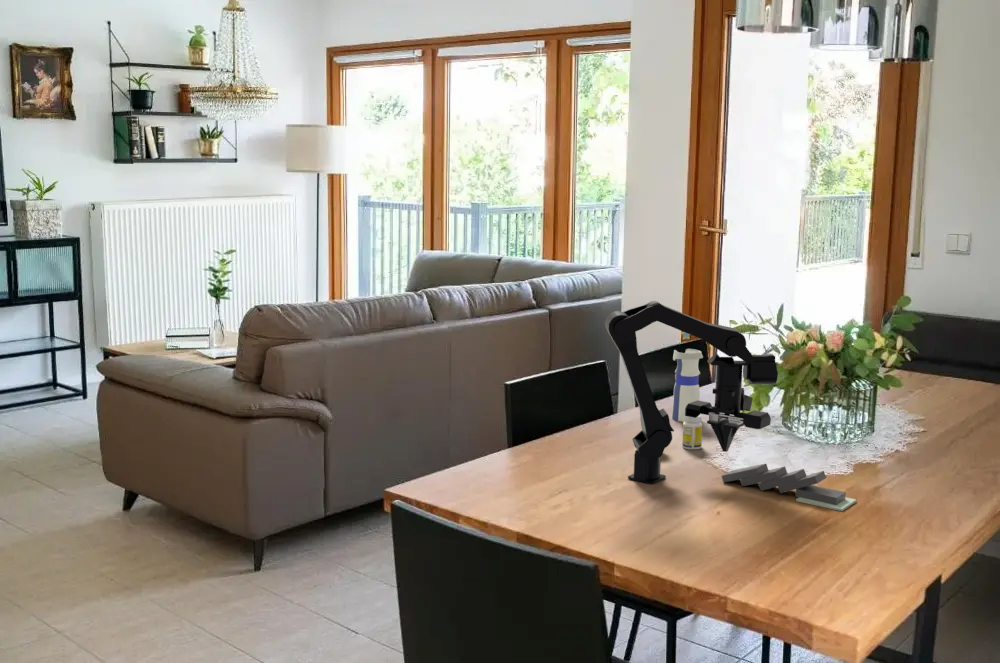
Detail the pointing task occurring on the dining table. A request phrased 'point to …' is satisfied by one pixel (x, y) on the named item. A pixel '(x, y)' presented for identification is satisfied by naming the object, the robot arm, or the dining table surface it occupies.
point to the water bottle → (685, 380)
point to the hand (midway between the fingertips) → (725, 451)
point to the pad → (839, 507)
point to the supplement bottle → (692, 433)
